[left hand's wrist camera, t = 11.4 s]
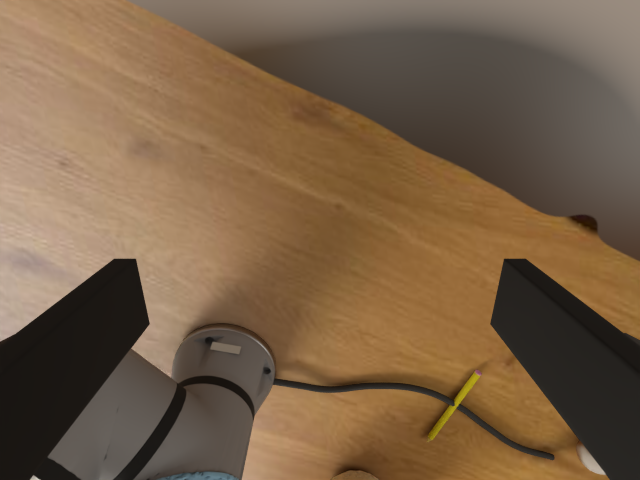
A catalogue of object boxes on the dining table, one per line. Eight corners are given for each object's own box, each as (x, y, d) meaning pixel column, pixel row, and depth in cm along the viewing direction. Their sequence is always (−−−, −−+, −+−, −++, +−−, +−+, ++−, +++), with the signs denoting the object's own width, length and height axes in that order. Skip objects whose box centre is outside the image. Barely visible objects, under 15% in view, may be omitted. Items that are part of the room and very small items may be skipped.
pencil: (474, 368, 54) (477, 373, 54) (479, 370, 55) (482, 375, 54) (422, 439, 60) (424, 444, 59) (427, 441, 60) (429, 446, 59)
